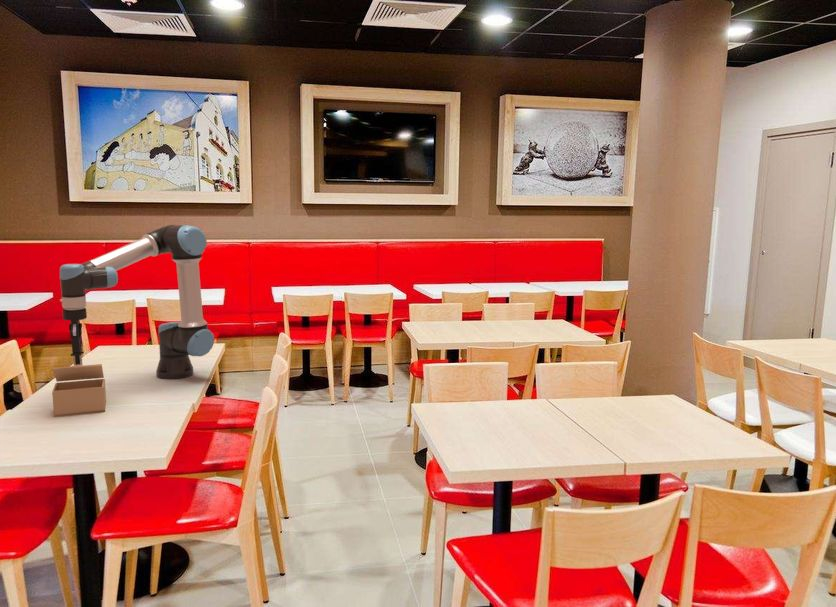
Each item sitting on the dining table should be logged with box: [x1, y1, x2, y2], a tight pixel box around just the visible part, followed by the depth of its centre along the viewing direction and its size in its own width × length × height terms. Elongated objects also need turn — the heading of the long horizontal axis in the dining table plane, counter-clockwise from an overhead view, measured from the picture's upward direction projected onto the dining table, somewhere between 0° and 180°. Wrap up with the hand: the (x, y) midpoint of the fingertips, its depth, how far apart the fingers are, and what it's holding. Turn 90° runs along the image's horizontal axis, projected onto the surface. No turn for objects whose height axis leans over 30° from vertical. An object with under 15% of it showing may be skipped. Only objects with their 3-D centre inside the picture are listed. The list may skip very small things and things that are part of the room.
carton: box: [51, 378, 107, 418], centre depth 238 cm, size 16×12×9 cm
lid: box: [52, 363, 105, 383], centre depth 238 cm, size 15×12×1 cm
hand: (78, 372), depth 240 cm, fingers closed
